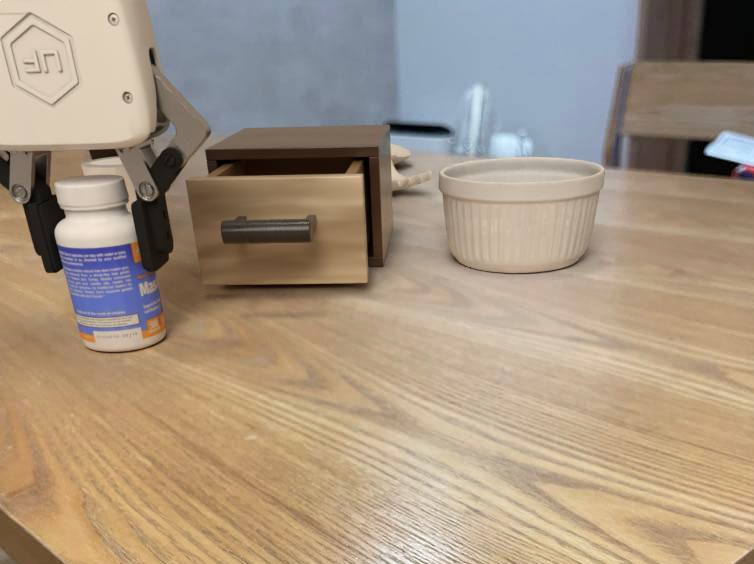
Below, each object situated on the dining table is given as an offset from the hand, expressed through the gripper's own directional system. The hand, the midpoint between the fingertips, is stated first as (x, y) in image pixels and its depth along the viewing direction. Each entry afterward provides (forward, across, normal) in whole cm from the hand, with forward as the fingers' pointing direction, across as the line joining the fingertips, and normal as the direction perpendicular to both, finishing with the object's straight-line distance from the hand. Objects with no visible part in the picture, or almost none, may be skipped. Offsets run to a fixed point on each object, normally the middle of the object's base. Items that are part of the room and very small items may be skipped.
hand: (108, 263), depth 50 cm
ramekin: (+5, +27, +20) cm, 34 cm away
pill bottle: (+5, 0, 0) cm, 5 cm away
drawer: (+4, +9, +14) cm, 17 cm away
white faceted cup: (+5, -9, +29) cm, 31 cm away
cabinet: (+5, +9, +25) cm, 27 cm away
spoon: (+5, +13, +61) cm, 63 cm away
